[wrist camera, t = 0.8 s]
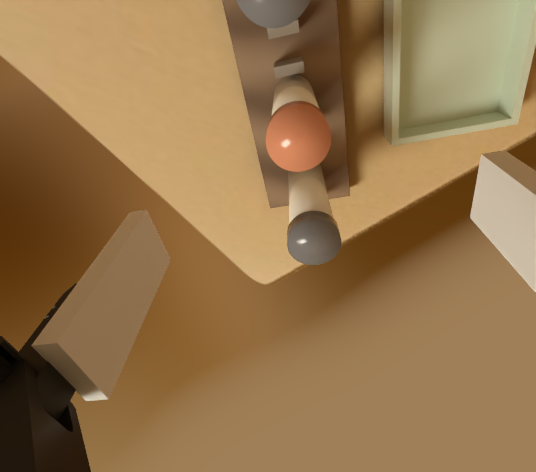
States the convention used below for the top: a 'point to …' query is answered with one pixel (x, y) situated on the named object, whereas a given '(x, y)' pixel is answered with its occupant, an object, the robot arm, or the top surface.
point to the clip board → (289, 63)
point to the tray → (455, 66)
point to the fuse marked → (297, 126)
